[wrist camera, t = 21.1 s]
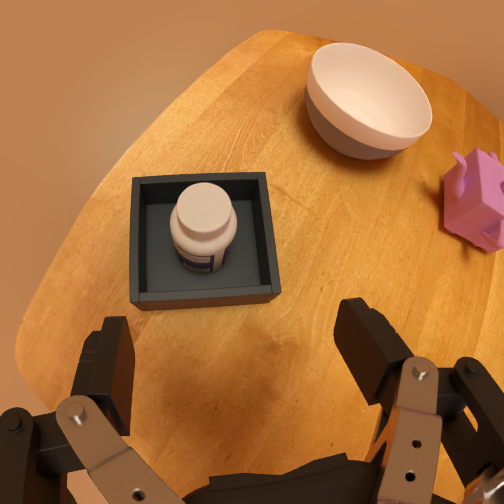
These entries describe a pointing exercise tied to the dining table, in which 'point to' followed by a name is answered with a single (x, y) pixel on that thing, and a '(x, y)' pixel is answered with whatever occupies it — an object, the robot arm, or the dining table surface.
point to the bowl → (364, 102)
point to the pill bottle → (203, 228)
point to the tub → (166, 261)
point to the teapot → (476, 199)
